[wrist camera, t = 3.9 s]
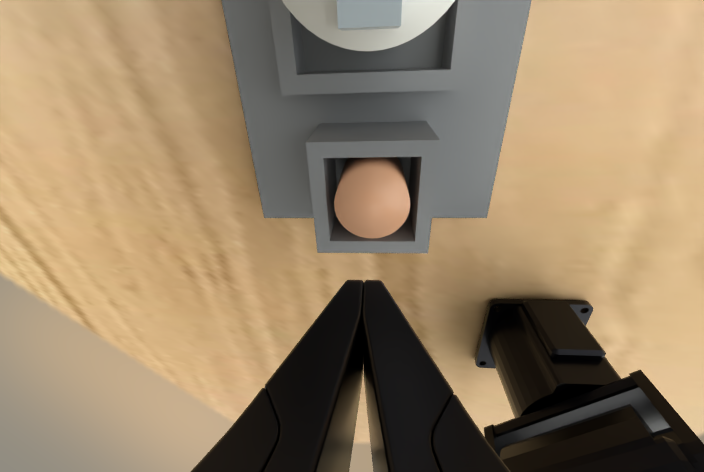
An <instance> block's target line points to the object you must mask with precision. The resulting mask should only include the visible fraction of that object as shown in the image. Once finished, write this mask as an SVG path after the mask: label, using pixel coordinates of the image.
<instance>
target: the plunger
mask: <svg viewBox="0 0 704 472" xmlns="http://www.w3.org/2000/svg"><path fill="white" fill-rule="evenodd" d="M334 208H335V213H336V216H337V218H338V220H339V221H340V223H341V224H342V225H343V227H344V228H346V229H347V230H348V231H349V232H351V233H353V234H354V235H357V236H360V237H363V238H381V237H385V236H387V235H390V234H392V233H393V232H395V231H396V230H398V229H399V228H400V227H401V226H402V225H403V223H404V222H405V220H406V219H407V217H408V214H409V211H410V197H409V193H408V188H407V184H406V180H405V175H404V171H403V167H402V165H401V163H400V161H399V159H398V158H397V157H365V158H348V159H347V161H346V162H345V164H344V167H343V170H342V173H341V177H340V181H339V184H338V188H337V192H336V195H335V200H334Z"/></svg>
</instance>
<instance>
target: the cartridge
mask: <svg viewBox="0 0 704 472" xmlns="http://www.w3.org/2000/svg"><path fill="white" fill-rule="evenodd" d="M282 1H283V3H284V4H285V6H286V7H287V8H288V10H289V11H290V12H291V13H292V14H293V15H294V17H295V18H296V19H297V20H298V21H299V22H300V23H301V24H302V25H303V26H305V27H306V28H307V29H308V30H309V31H311V32H312V33H313V34H315V35H316V36H318V37H319V38H321V39H323V40H325V41H327V42H329V43H331V44H333V45H336V46H339V47H342V48H345V49H350V50H355V51H377V50H384V49H388V48H392V47H396V46H398V45H401V44H403V43H405V42H408V41H410V40H411V39H413V38H415V37H416V36H418V35H420V34H421V33H423V32H424V31H425V30H427V29H428V28H429V27H430V26H432V25H433V24H434V23H435V22H436V21H437V20H438V19H439V18H440V17H441V16H442V15H443V14H444V13H445V12H446V11H447V10H448V9H449V7H450V6H451V5H452V4H453V2H454V1H455V0H282Z"/></svg>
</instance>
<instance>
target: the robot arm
mask: <svg viewBox="0 0 704 472" xmlns="http://www.w3.org/2000/svg"><path fill="white" fill-rule="evenodd" d="M496 306H498V307H496ZM494 307H495V308H494ZM592 311H593V307H592V306H591V304H590V303H589V302H587V301H580V300H522V299H494V300H491V301H490V302H489V303H488V306H487V310H486V314H485V318H484V323H483V327H482V331H481V335H480V339H479V343H478V347H477V351H476V355H475V363H476V365H477V366H478V367H481V368H496V369H497V372H498V374H499V377H500V380H501V382H502V385H503V388H504V390H505V393H506V396H507V398H508V401H509V403H510V406H511V409H512V411H513V414H514V417H515V418H514V419H511V420H509V421H506V422H503V423H500V424H498V425H495V426H494V425H493V424H492V425H490V426H487V427H485V428H484V433H485V437H484V436H483V434H482V433H481V431H480V430H479V429H478V427H477V426H476V424H475V423H474V421H473V420H472V418H471V417H470V416H469V414H468V413H467V411H466V410H465V408H464V406H463V405H462V403H461V402H460V400H459V399H458V397H457V396H456V395H453V393H454V392H453V390H452V388H451V387H450V385H449V384H448V382H447V381H446V379H445V378H444V376H443V375H442V373H441V372H440V370H439V368H438V367H437V365H436V364H435V362H434V361H433V359H432V358H431V356H430V355H429V353H428V352H427V350H426V348H425V347H424V345H423V344H422V342H421V341H420V339H419V338H418V336H417V335H416V333H415V332H414V330H413V329H412V327H411V325H410V324H409V322H408V321H407V319H406V318H405V316H404V315H403V313H402V312H401V310H400V309H399V307H398V305H397V304H396V302H395V301H394V299H393V298H392V296H391V295H390V293H389V292H388V290H387V289H386V287H385V286H384V284H383V283H382V281H380V280H366V281H365V282H363V281H362V280H347V281H346V282H345V283H344V284H343V286H342V287H341V288H340V289H339V291H338V292H337V293H336V295H335V296H334V297H333V298H332V300H331V301H330V302H329V304H328V305H327V306H326V307H325V309H324V310H323V311H322V313H321V314H320V315H319V316H318V318H317V319H316V320H315V322H314V323H313V324H312V325H311V327H310V328H309V329H308V331H307V332H306V333H305V334H304V336H303V337H302V338H301V340H300V341H299V342H298V343H297V345H296V346H295V347H294V349H293V350H292V351H291V352H290V354H289V355H288V356H287V357H286V359H285V360H284V361H283V363H282V364H281V365H280V366H279V368H278V369H277V370H276V372H275V373H274V374H273V375H272V377H271V378H270V379H269V381H268V382H267V383H266V384H265V388H262V389H261V390H260V392H259V393H258V394H257V396H256V397H255V398H254V400H253V401H252V402H251V403H250V405H249V406H248V407H247V408H246V410H245V411H244V412H243V413H242V414H241V416H240V417H239V418H238V419H237V421H236V422H235V423H234V424H233V425H232V427H231V428H230V429H229V430H228V431H227V433H226V434H225V435H224V436H223V437H222V438H221V439H220V440H219V441H218V442H217V444H216V445H215V446H214V447H213V448H212V449H211V450H210V452H208V453H207V455H206V456H205V457H204V458H203V459H202V460H201V461H200V462H199V463H198V464H197V465H196V467H195V468H194V469H193V470H192V471H191V472H349V468H350V461H351V454H352V447H353V440H354V433H355V426H356V419H357V412H358V405H359V398H360V391H361V385H362V376H363V364H364V384H365V394H366V403H367V413H368V423H369V433H370V442H371V452H372V462H373V471H374V472H704V444H703V443H702V442H701V440H700V439H699V438H698V437H697V436H696V435H695V433H694V432H693V431H692V430H691V429H690V427H689V426H688V425H687V424H686V423H685V422H684V420H683V419H682V418H681V417H680V416H679V415H678V413H677V412H676V411H675V410H674V409H673V407H672V406H671V405H670V404H669V403H668V402H667V400H666V399H665V398H664V397H663V396H662V395H661V393H660V392H659V391H658V390H657V389H656V387H655V386H654V385H653V384H652V383H651V382H650V380H649V379H648V378H647V377H646V376H645V375H644V373H643V372H642V371H641V370H638V371H635V372H633V373H630V374H629V375H630V376H628V377H625V378H623V379H621V378H620V376H619V375H618V374H617V372H616V371H615V370H614V368H613V367H612V366H611V364H610V363H609V362H608V360H607V359H606V358H605V354H606V353H605V351H604V350H603V348H602V347H601V346H600V344H599V343H598V342H597V341H596V339H595V338H594V337H593V335H592V334H591V333H590V331H589V330H588V329H587V327H586V324H587V322H588V320H589V318H590V316H591V313H592Z"/></svg>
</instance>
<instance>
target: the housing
mask: <svg viewBox="0 0 704 472" xmlns="http://www.w3.org/2000/svg"><path fill="white" fill-rule="evenodd" d="M222 5H223V11H224V16H225V21H226V26H227V31H228V36H229V41H230V46H231V51H232V56H233V61H234V66H235V72H236V77H237V82H238V87H239V92H240V97H241V102H242V107H243V112H244V117H245V122H246V128H247V133H248V138H249V143H250V148H251V153H252V158H253V163H254V168H255V173H256V178H257V183H258V189H259V194H260V199H261V204H262V209H263V214H264V218H314V224H315V233H316V243H317V252H318V253H428V249H429V239H430V230H431V220H432V218H487V214H488V209H489V204H490V200H491V195H492V190H493V185H494V180H495V175H496V170H497V165H498V161H499V156H500V151H501V146H502V141H503V136H504V131H505V127H506V122H507V117H508V112H509V107H510V102H511V97H512V92H513V88H514V83H515V78H516V73H517V68H518V63H519V58H520V54H521V49H522V44H523V39H524V34H525V29H526V24H527V19H528V15H529V10H530V5H531V0H455V1H454V2H453V4H452V5H451V6H450V7H449V9H448V10H447V11H446V12H445V13H444V14H443V15H442V16H441V17H440V18H439V19H438V20H437V21H436V22H435V23H434V24H433V25H432V26H430V27H429V28H428V29H427V30H425V31H424V32H423V33H421V34H420V35H418V36H416V37H415V38H413V39H411V40H410V41H408V42H405V43H403V44H401V45H398V46H396V47H392V48H388V49H384V50H377V51H355V50H350V49H345V48H342V47H339V46H336V45H333V44H331V43H329V42H327V41H325V40H323V39H321V38H319V37H318V36H316V35H315V34H313V33H312V32H311V31H309V30H308V29H307V28H306V27H305V26H303V25H302V24H301V23H300V22H299V21H298V20H297V19H296V18H295V17H294V15H293V14H292V13H291V12H290V11H289V10H288V8H287V7H286V6H285V4H284V3H283V1H282V0H222ZM365 157H397V158H398V159H399V161H400V163H401V165H402V167H403V171H404V175H405V180H406V184H407V188H408V193H409V197H410V211H409V214H408V217H407V219H406V220H405V222H404V223H403V225H402V226H401V227H400V228H399V229H398V230H396V231H395V232H393V233H392V234H390V235H387V236H385V237H381V238H363V237H360V236H357V235H354V234H353V233H351V232H349V231H348V230H347V229H346V228H344V227H343V225H342V224H341V223H340V221H339V220H338V218H337V216H336V213H335V208H334V200H335V195H336V192H337V188H338V184H339V181H340V177H341V173H342V170H343V167H344V164H345V162H346V161H347V159H348V158H365Z"/></svg>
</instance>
